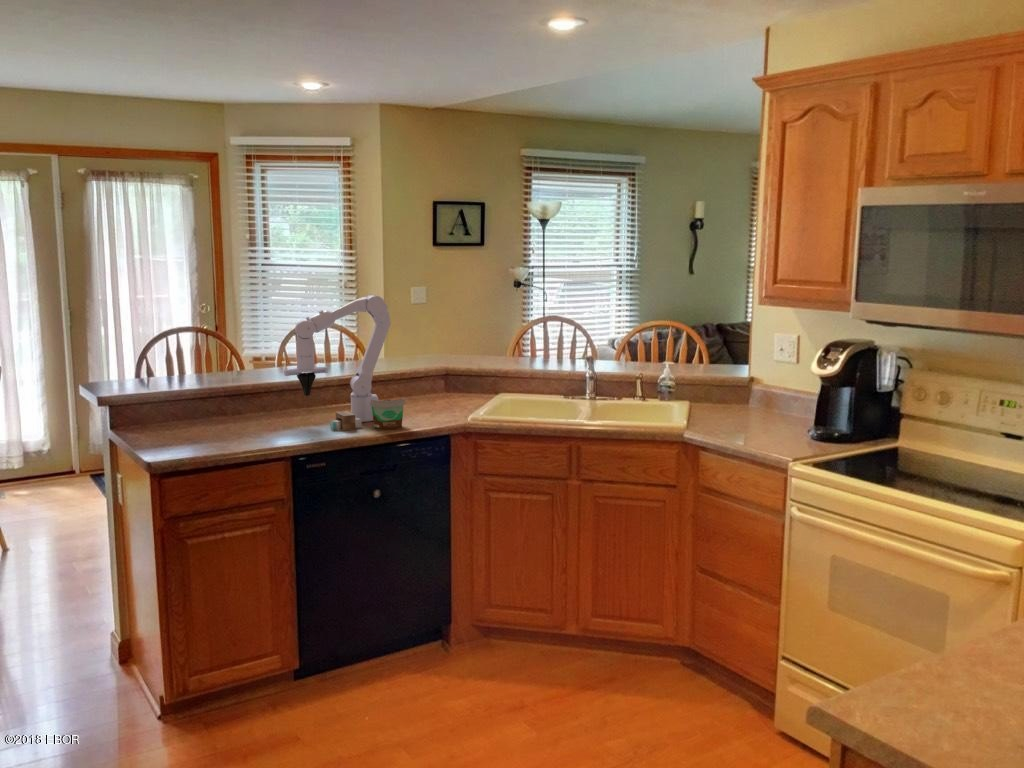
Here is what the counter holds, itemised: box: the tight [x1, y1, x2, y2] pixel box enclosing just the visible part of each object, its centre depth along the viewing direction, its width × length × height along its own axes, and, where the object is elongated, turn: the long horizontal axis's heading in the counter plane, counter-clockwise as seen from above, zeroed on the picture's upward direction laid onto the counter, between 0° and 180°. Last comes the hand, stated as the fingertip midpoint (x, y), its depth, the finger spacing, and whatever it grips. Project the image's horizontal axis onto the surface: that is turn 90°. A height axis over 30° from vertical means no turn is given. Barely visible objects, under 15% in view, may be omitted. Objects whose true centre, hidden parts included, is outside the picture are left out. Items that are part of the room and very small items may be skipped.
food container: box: [370, 396, 407, 431], centre depth 290 cm, size 12×6×10 cm, turn 117°
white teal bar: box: [329, 418, 363, 431], centre depth 291 cm, size 10×3×3 cm, turn 120°
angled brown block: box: [335, 410, 357, 432], centre depth 291 cm, size 4×8×5 cm, turn 31°
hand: (307, 395), depth 298 cm, fingers closed
